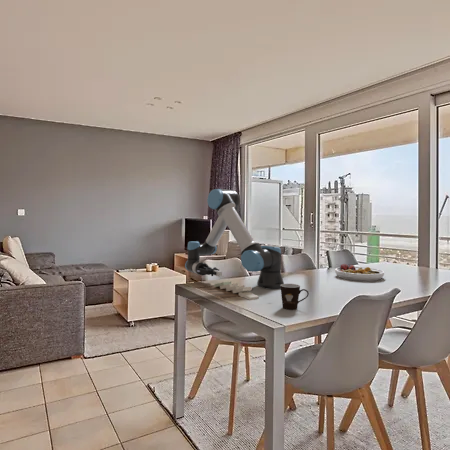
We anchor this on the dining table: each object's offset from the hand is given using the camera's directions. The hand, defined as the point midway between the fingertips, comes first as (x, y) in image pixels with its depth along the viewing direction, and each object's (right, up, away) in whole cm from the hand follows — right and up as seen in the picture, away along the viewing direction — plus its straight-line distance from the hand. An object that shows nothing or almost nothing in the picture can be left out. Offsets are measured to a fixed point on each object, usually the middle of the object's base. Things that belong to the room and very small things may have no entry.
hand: (220, 274), depth 203 cm
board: (+1, -8, -9) cm, 12 cm away
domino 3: (+5, -7, -8) cm, 12 cm away
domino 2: (+2, -7, -3) cm, 7 cm away
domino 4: (+8, -7, -14) cm, 18 cm away
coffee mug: (+32, -10, -41) cm, 53 cm away
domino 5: (+11, -7, -18) cm, 23 cm away
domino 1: (-1, -6, +2) cm, 7 cm away
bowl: (+90, -8, +38) cm, 98 cm away
